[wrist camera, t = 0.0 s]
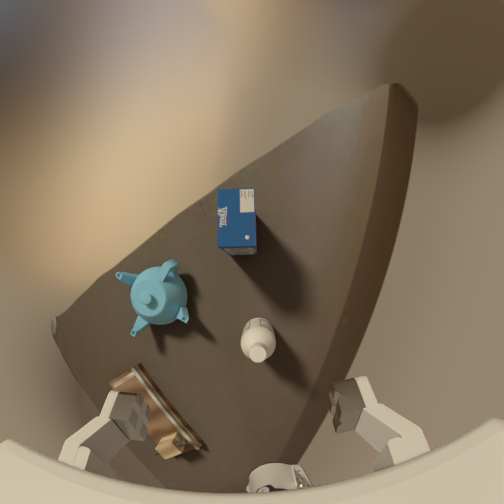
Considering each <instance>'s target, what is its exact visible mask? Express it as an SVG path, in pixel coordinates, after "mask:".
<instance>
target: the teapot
mask: <svg viewBox="0 0 504 504" xmlns="http://www.w3.org/2000/svg"><path fill="white" fill-rule="evenodd" d="M179 264H180V263H179V262H177V261H176V260H175V259H171V260H169V261H167V262H165V263H163V265H162V267H152V268H149V269H147V270H145V271H143V272H142V273H141V274H140V275H138V274H131V273H124V272H117V274H116V277H117V278H118V279H119V280H121V281H123V282H124V283H126V284H127V285H129V286H130V287H132V289H131V302H132V305H133V308H134V310H135V311H136V313H137V314H138V317H137V320H136V322H135V325H134V327H133V329H132V331H131V335H132V336H134V337H135V336H137V335H138V334H139V333H140V332H142V331H143V330H144V329H145V328H146V327H148V326H149V325H150V324H151V323H152V324H156V325H165V324H169V323H172V322H174V321H175V320H177V319H179V320H181V321H183V322H185V323H187V322H188V320H189V315H188V309H187V307H186V304H187V290H186V286H185V284H184V282H183V280H182V279H181V277H180V276H179V275H178V274H177V271H178V267H179Z"/></svg>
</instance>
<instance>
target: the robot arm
mask: <svg viewBox="0 0 504 504" xmlns="http://www.w3.org/2000/svg"><path fill="white" fill-rule="evenodd" d="M330 390H331V393H329V398H328V402H329V409H330V413H331V414H332V415H333V416H334V418H333V425H334V428H335V432H336V433H341V432H347V431H351V430H355V431H356V432H357V433H358V434H359V435H360V436H361V437H363V438H364V439H365V440H366V441H367V442H368V443H369V444H371V445H372V446H373V447H374V448H375V449H376V450H378V451H379V452H380V455H379V456H378V458H377V459H376V460H375V462H374V463H373V467H374V471H375V472H373V473H369V474H366V475H362V476H358V477H355V478H351V479H347V480H343V481H338V482H334V483H329V484H324V485H318V486H313V485H312V483H311V481H310V479H309V478H308V476H307V474H306V473H305V471H304V469H303V467H302V466H301V465H287V464H282V463H270V464H265V465H262V466H260V467H258V468H256V469H255V470H253V471H252V473H251V474H250V476H249V484H248V485H247V487H246V489H247V491H248V492H249V493H205V492H191V491H180V490H171V489H164V488H157V487H151V486H145V485H140V484H135V483H130V482H126V481H121V480H117V479H114V475H115V471H114V469H113V468H111V467H110V466H109V465H108V464H107V463H108V462H109V461H110V460H111V459H112V458H113V457H114V456H115V455H116V454H117V453H118V452H119V451H120V450H121V449H122V447H123V446H124V445H125V444H126V443H127V442H128V441H129V439H131V440H139V441H145V440H146V435H147V431H148V429H147V427H146V425H147V424H148V423H149V422H150V419H151V410H150V407H149V405H148V404H147V403H146V402H144V401H143V400H144V397H143V396H142V394H139V393H129V392H121V391H112V390H111V391H110V392H109V394H108V396H107V399H106V401H105V403H104V406H103V408H102V411H101V414H100V416H99V417H95V418H94V419H93V420H92V421H90V422H89V423H88V424H86V425H85V426H84V427H83V428H81V429H80V430H79V431H77V432H76V433H75V434H73V435H72V436H71V437H69V438H68V439H67V440H66V441H65V443H64V446H63V448H62V451H61V454H60V456H59V459H58V460H55V459H53V458H51V457H48V456H46V455H44V454H41V453H39V452H37V451H35V450H33V449H31V448H29V447H27V446H24V445H23V444H21V443H19V442H17V441H15V440H12V439H8V440H6V441H4V442H2V443H1V444H0V504H504V420H501V419H497V418H490V419H488V420H486V421H485V422H483V423H482V424H480V425H478V426H477V427H475V428H473V429H472V430H470V431H469V432H467V433H465V434H463V435H461V436H460V437H457V438H456V439H454V440H452V441H450V442H448V443H446V444H444V445H442V446H440V447H437V448H436V449H433V450H431V451H430V448H429V446H428V444H427V442H426V439H425V437H424V435H423V432H422V430H421V428H420V427H418V426H416V425H415V424H413V423H412V422H410V421H408V420H407V419H405V418H403V417H402V416H400V415H399V414H397V413H396V412H394V411H393V410H391V409H389V408H388V407H386V406H385V405H383V404H382V403H381V404H378V402H377V399H376V397H375V395H374V392H373V390H372V388H371V385H370V383H369V381H368V378H367V377H366V376H361V377H357V378H351V379H347V380H342V381H337V382H332V383H331V385H330ZM299 470H300V471H299Z"/></svg>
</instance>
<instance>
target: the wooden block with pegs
mask: <svg viewBox="0 0 504 504" xmlns="http://www.w3.org/2000/svg"><path fill="white" fill-rule="evenodd" d="M186 444H187V440H186V439H184V438H183V437H182V436H181V435H180V433H179V432H178V431H177V432H175V433H173V434H171V435H168V436H166V437H163V438H162V439H161V440H160V442H159V444H158V445H157V447H156V448H155V449H156V451H154V454H155V455H159V454H160V455H161V456H162V457H163V458H164V459H167V458H170V457H173V456H176V455H178V454H181V453H182V451H183V449H184V447H185V445H186Z"/></svg>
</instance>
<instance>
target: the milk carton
mask: <svg viewBox="0 0 504 504" xmlns="http://www.w3.org/2000/svg"><path fill="white" fill-rule="evenodd" d="M218 247H219V248H221V249H222V250H223V251H225V252H226V253H228V254H229V255H230V256H231V255H257V241H256V211H255V194H254V188H236V189H218Z"/></svg>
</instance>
